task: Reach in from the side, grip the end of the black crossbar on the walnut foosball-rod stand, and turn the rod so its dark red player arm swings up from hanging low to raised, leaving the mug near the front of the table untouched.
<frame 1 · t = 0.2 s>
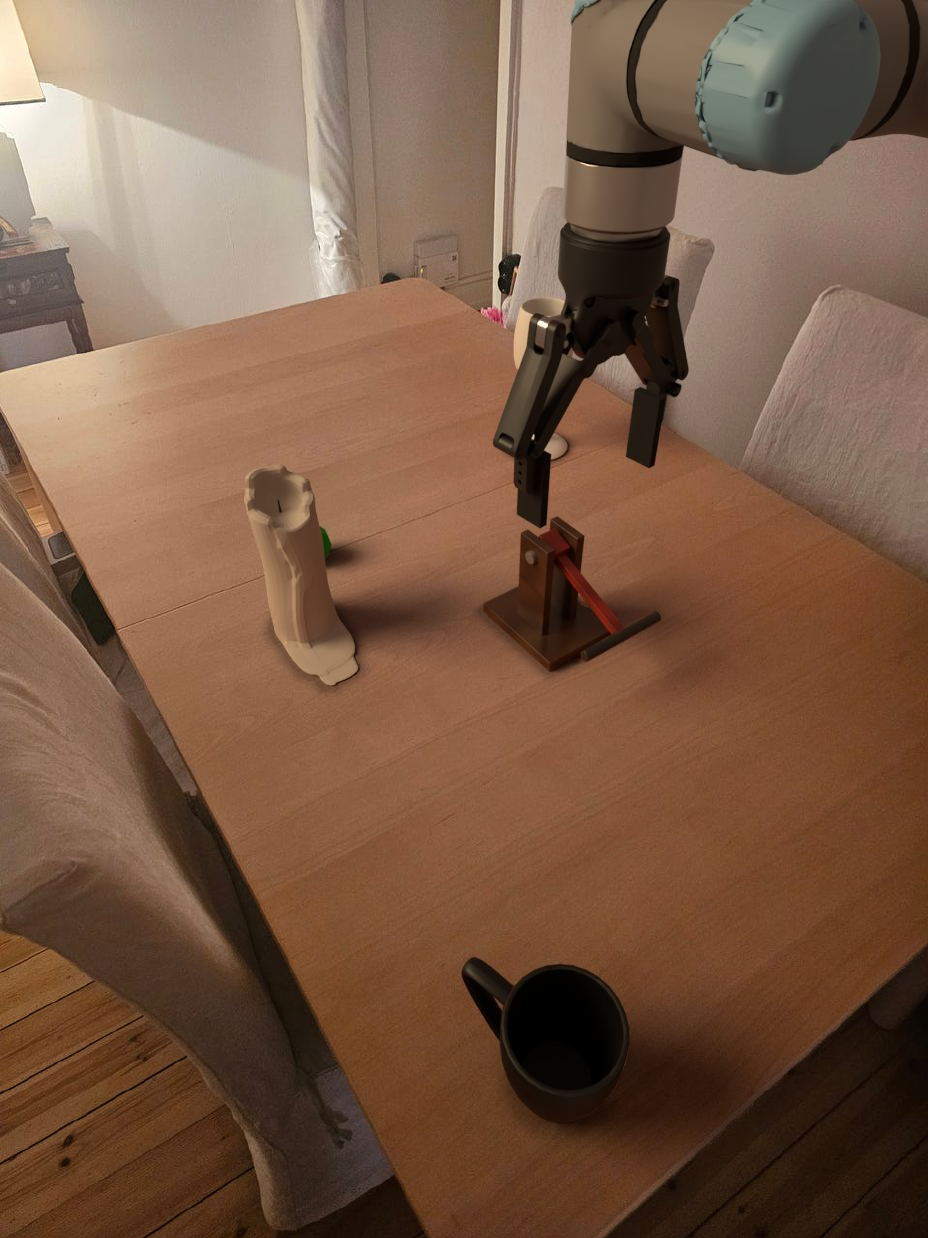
hand: (588, 489, 70), 25 cm above the table, tool pointing down, fingers open, 13 cm apart
mug: (534, 1062, 60), on the table
candle: (318, 643, 92), on the table
rod stand: (545, 624, 94), on the table
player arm: (583, 587, 84), point 9 cm above the table, hinge at -20.0°
polyhedron: (313, 560, 103), on the table
wineglass: (537, 447, 122), on the table
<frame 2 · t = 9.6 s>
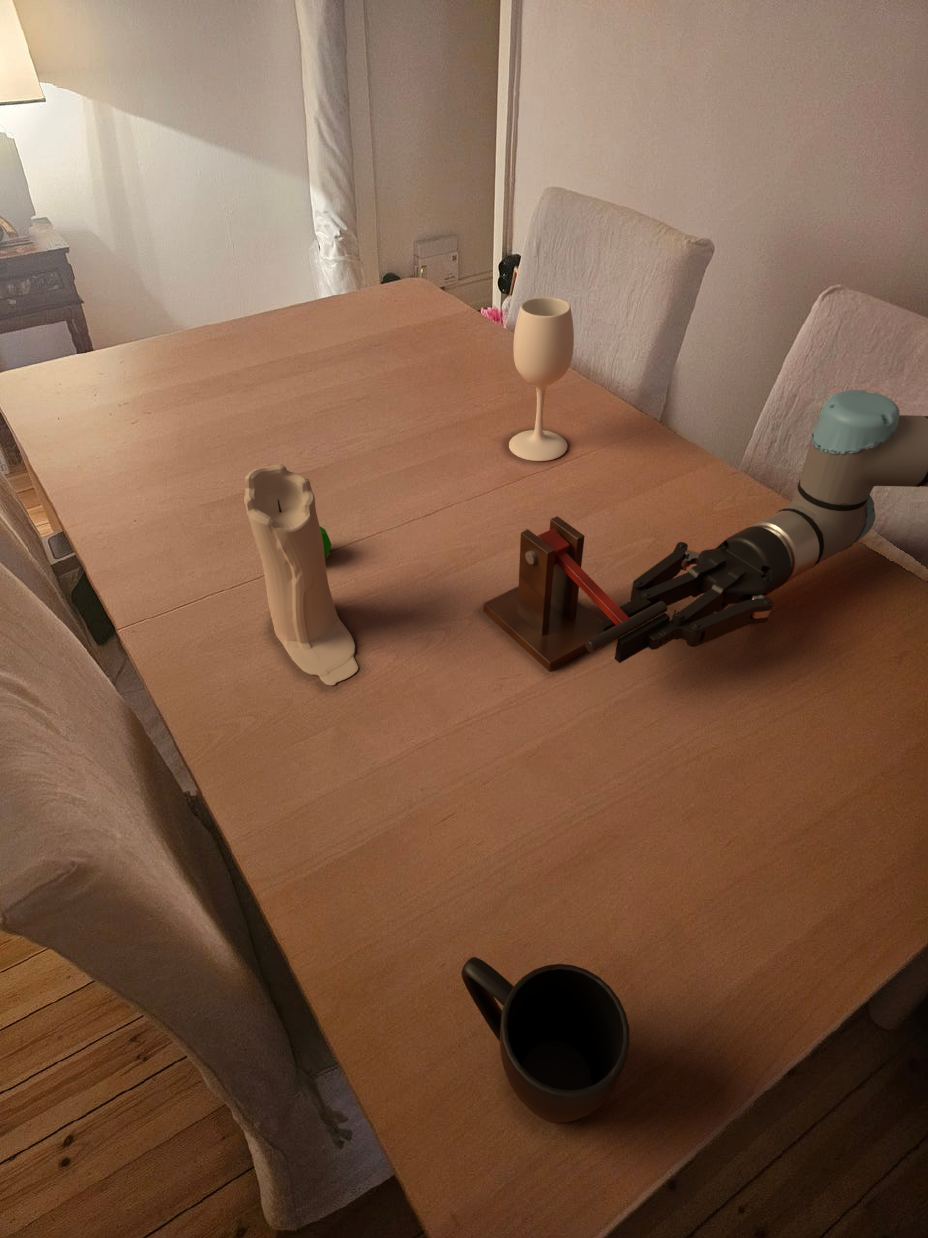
hand: (609, 643, 81), 7 cm above the table, tool horizontal, fingers closed on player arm, 2 cm apart
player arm: (585, 583, 84), point 10 cm above the table, hinge at -11.6°, touching gripper
everything else where it was.
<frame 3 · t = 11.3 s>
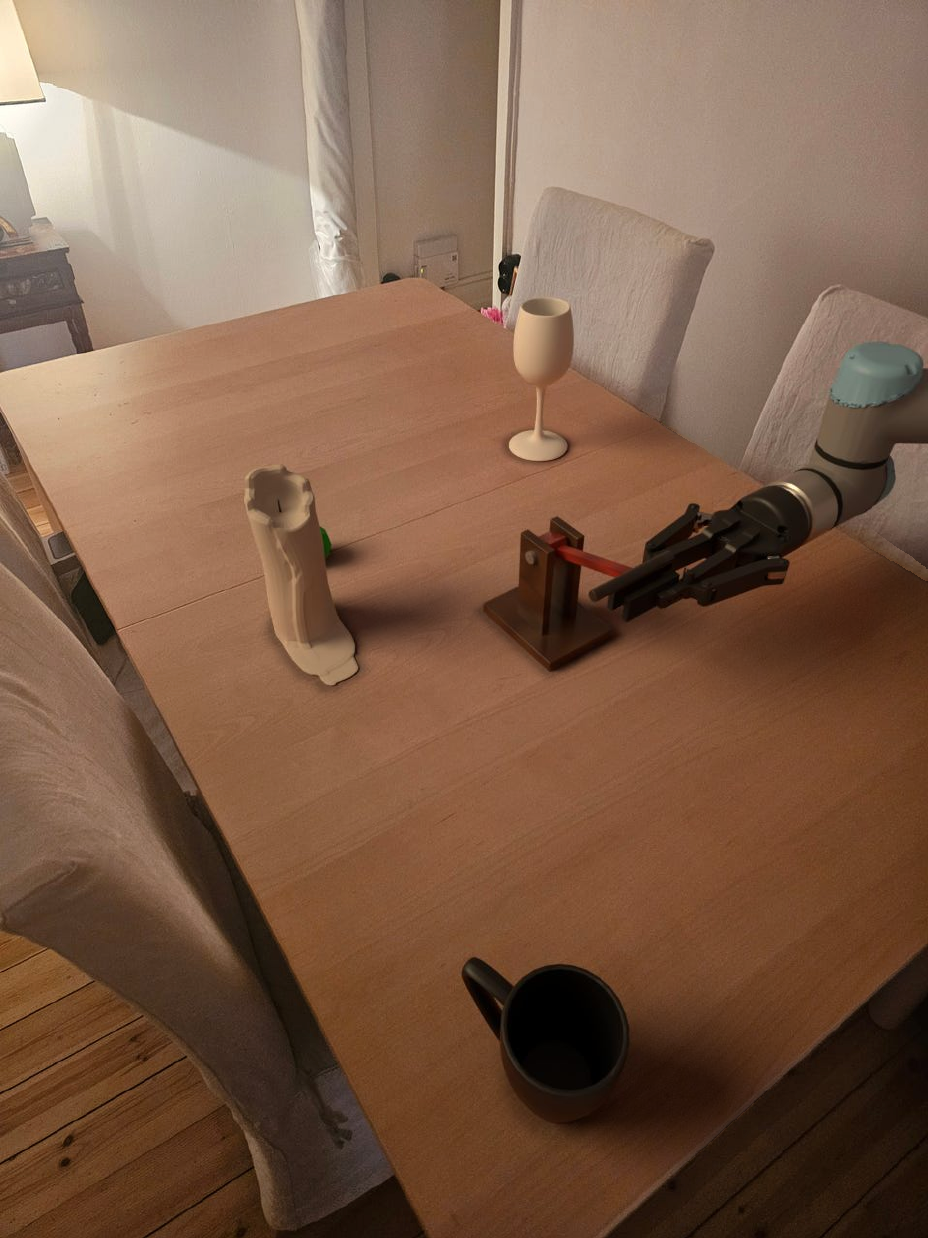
hand: (618, 604, 77), 12 cm above the table, tool horizontal, fingers closed
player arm: (587, 560, 82), point 13 cm above the table, hinge at 18.3°, touching gripper
everything else where it was.
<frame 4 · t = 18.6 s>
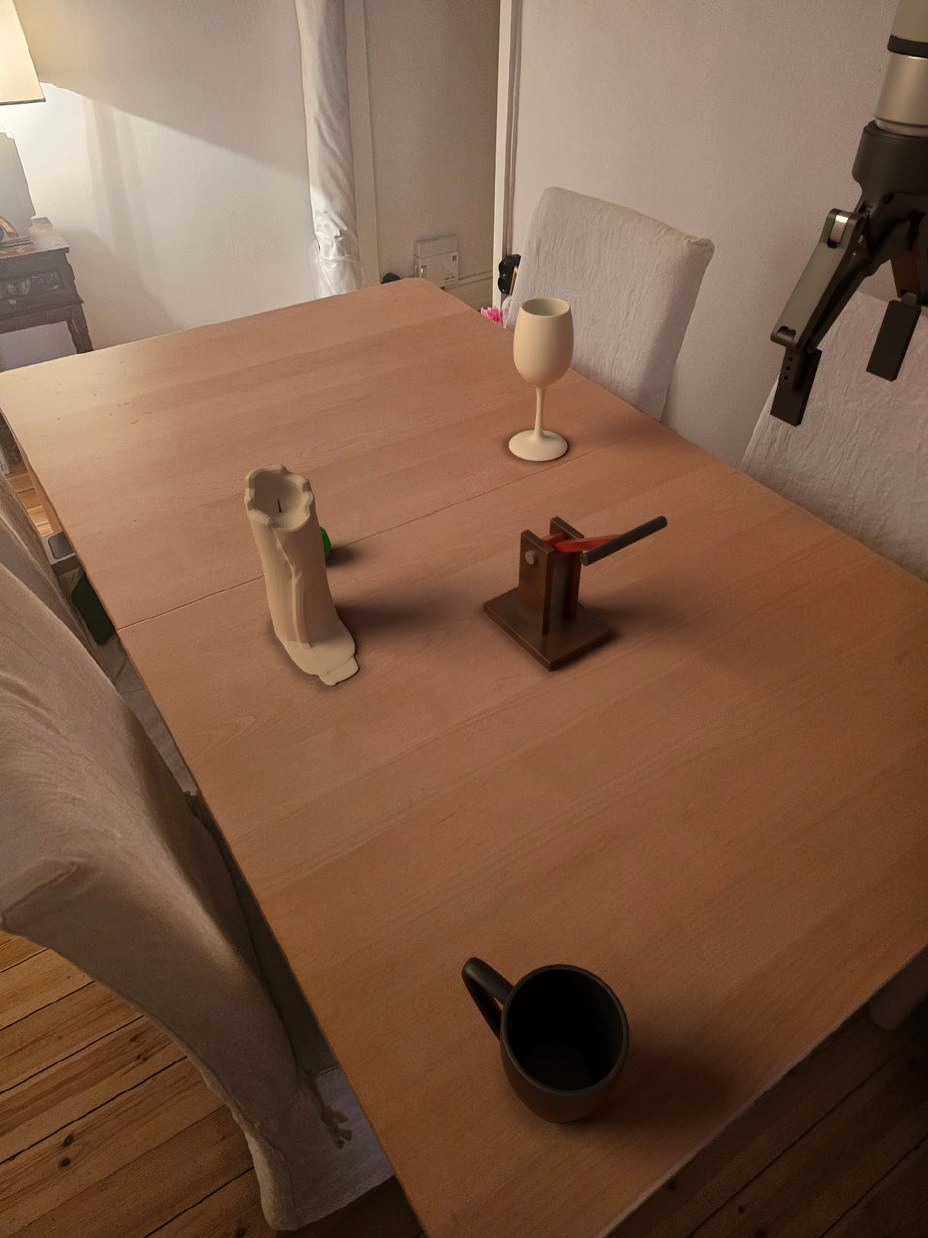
hand: (834, 396, 73), 29 cm above the table, tool pointing down, fingers open, 13 cm apart
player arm: (583, 544, 81), point 14 cm above the table, hinge at 35.3°
everything else where it was.
at the end: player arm at +35° (first picture: -20°); mug moved 0.2 cm from its start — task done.
